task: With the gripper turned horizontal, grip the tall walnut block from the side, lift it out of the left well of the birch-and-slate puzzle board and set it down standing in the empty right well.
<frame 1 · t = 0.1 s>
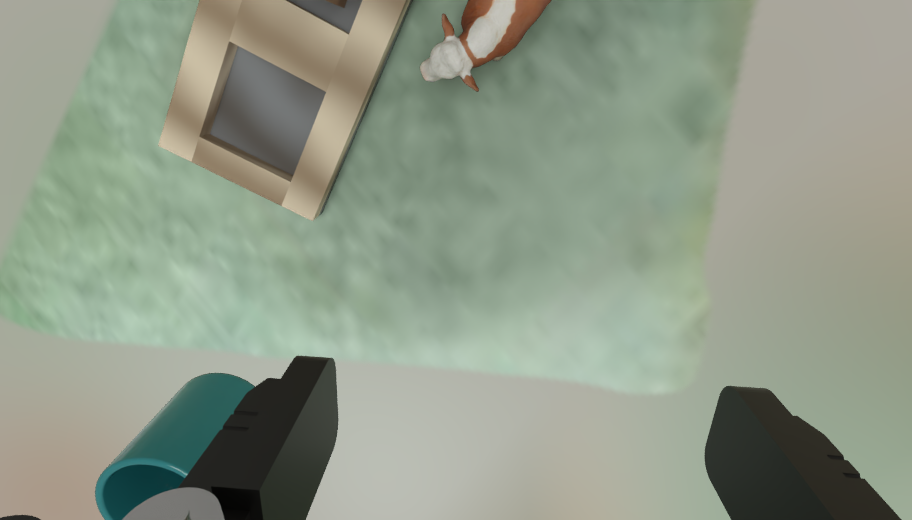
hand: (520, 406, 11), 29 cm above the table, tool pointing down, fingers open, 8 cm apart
bull figurine: (505, 3, 34), on the table
cup: (243, 417, 48), on the table
puzzle board: (300, 39, 36), on the table
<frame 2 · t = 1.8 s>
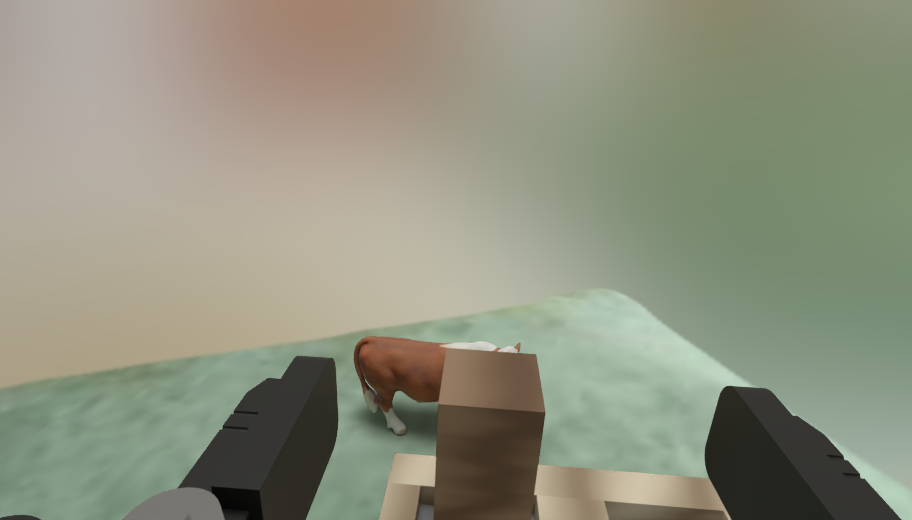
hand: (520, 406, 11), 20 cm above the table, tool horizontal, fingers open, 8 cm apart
bull figurine: (440, 429, 39), on the table
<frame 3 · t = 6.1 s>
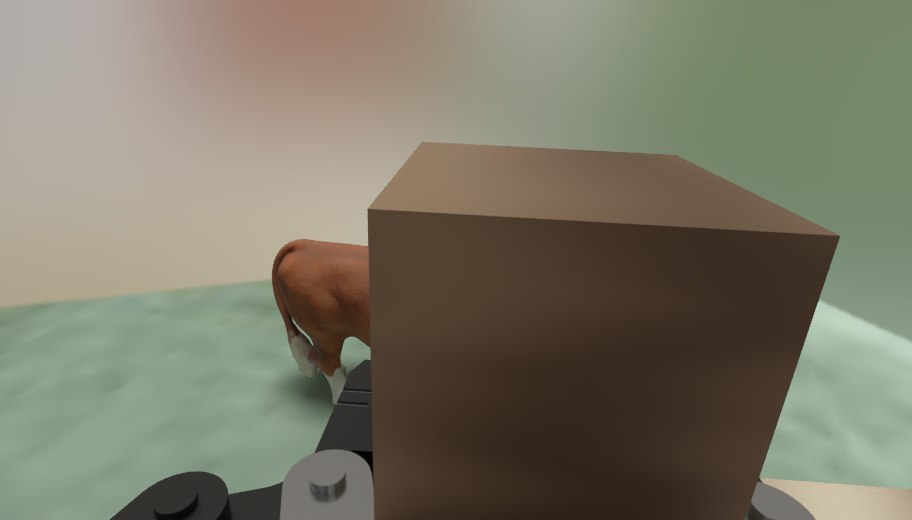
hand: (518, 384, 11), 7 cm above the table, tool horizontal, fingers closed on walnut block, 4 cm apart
bull figurine: (426, 406, 23), on the table
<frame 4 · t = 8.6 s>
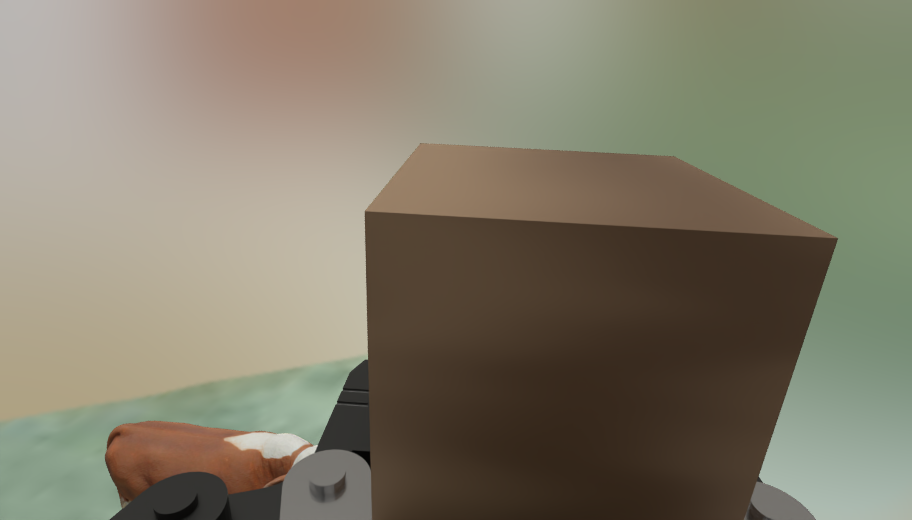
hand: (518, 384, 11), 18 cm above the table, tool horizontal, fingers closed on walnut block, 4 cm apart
when the fingers open (9 cm above the table, at t = 11.0 s): walnut block drops 1 cm, resting on puzzle board.
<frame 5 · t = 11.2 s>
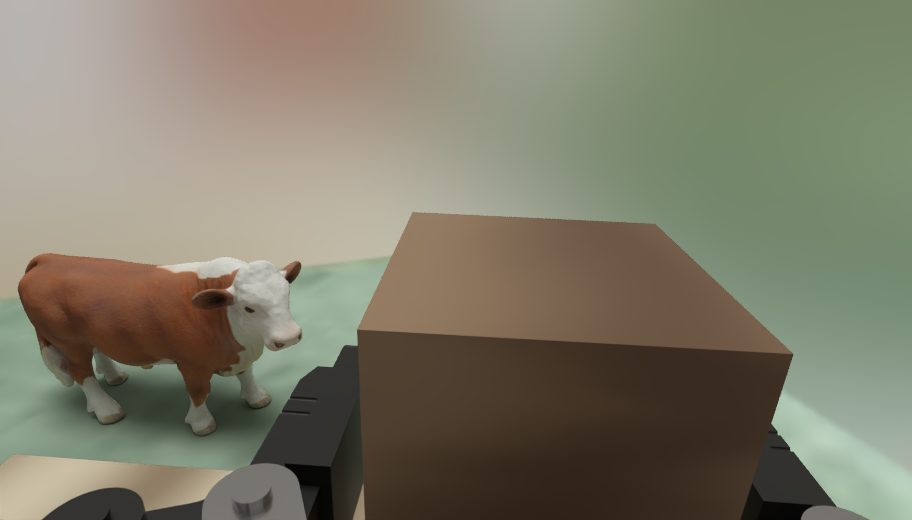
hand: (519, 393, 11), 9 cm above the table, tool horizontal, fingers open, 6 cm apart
bull figurine: (188, 414, 24), on the table
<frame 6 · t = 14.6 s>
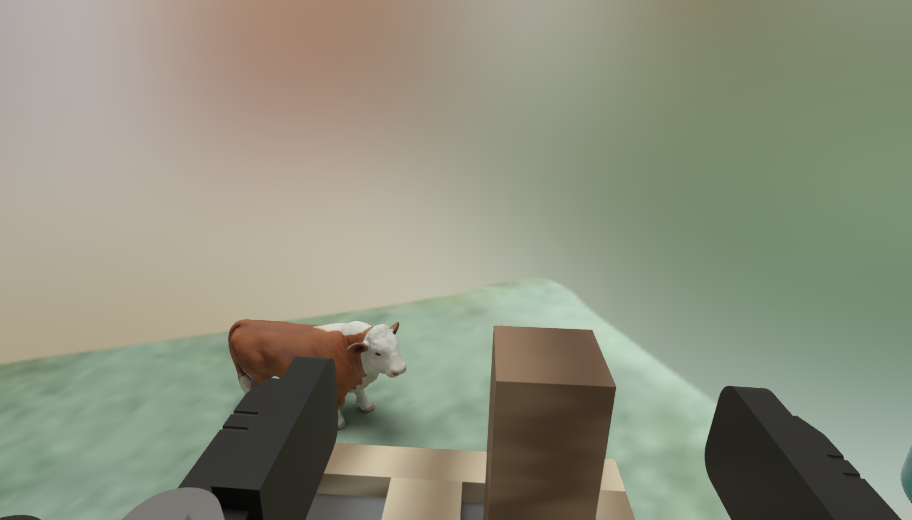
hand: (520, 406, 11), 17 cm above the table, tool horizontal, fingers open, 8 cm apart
bull figurine: (324, 416, 37), on the table
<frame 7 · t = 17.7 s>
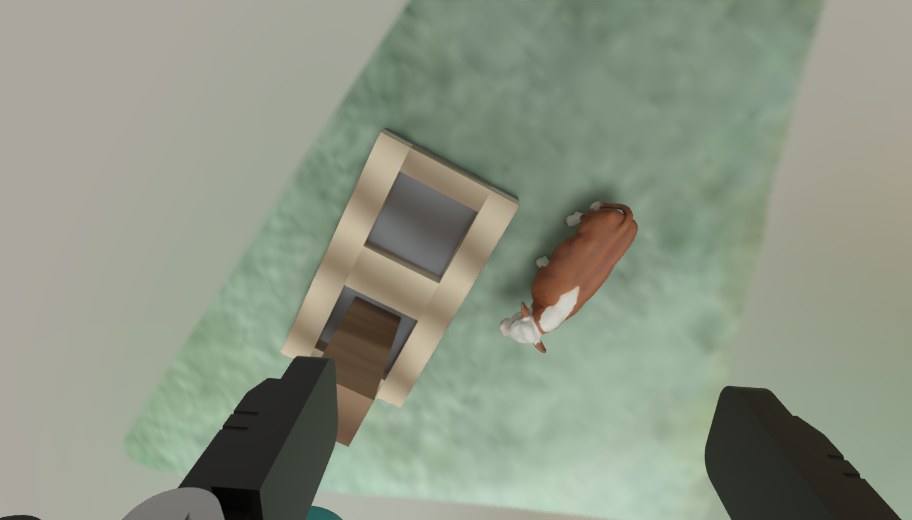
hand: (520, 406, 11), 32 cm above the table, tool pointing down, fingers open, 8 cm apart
bull figurine: (560, 253, 44), on the table
walnut block: (368, 326, 46), point 1 cm above the table, touching puzzle board
puzzle board: (395, 273, 45), on the table
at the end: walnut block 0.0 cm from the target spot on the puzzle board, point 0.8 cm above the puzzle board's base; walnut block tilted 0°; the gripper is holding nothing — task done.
